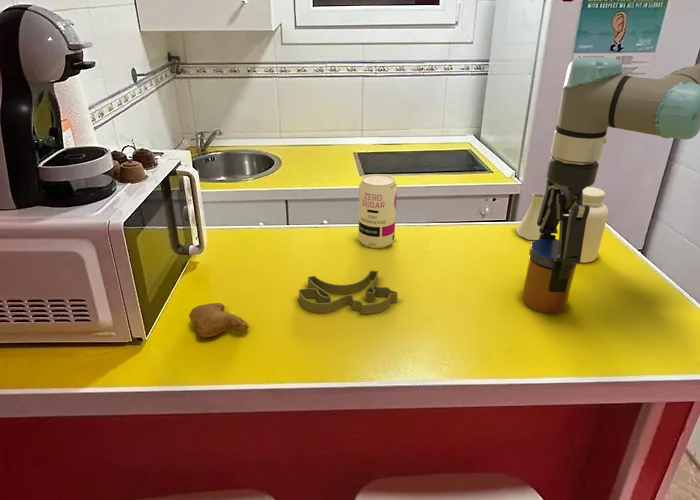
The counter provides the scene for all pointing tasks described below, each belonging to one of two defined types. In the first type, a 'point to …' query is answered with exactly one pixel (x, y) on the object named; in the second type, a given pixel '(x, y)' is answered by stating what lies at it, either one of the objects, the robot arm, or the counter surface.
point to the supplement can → (377, 210)
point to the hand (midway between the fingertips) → (548, 278)
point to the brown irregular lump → (215, 320)
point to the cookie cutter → (325, 305)
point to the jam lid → (545, 252)
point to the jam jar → (544, 290)
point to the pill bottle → (593, 223)
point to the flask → (531, 219)
